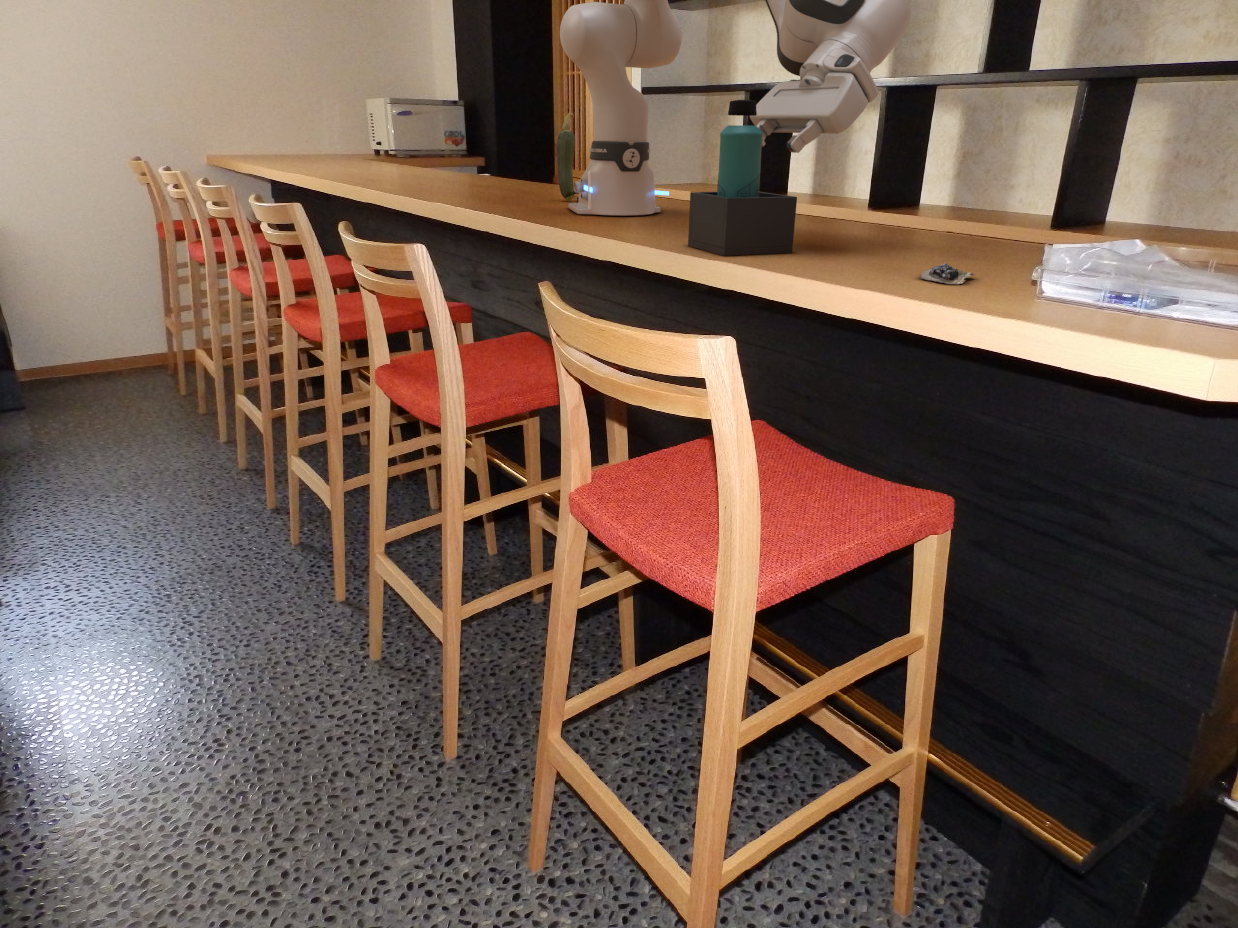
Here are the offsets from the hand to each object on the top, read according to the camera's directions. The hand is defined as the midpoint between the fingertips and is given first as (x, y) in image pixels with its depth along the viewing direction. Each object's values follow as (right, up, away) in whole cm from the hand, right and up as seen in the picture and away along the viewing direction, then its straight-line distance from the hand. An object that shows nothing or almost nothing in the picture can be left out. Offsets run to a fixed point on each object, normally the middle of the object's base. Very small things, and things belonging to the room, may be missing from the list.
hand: (771, 148), depth 125 cm
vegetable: (-35, +17, +79) cm, 88 cm away
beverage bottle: (-5, -13, +4) cm, 14 cm away
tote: (-4, -14, +3) cm, 15 cm away
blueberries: (+18, -24, -20) cm, 36 cm away
